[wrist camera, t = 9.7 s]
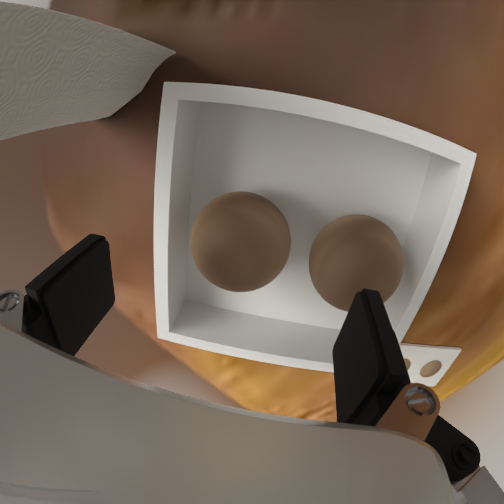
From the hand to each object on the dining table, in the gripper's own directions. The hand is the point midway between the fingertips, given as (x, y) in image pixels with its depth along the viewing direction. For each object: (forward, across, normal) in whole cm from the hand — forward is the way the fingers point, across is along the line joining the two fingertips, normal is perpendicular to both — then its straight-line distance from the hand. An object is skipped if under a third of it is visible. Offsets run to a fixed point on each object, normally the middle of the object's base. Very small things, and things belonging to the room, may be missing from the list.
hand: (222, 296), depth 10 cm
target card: (+8, -16, +10) cm, 20 cm away
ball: (+5, -6, 0) cm, 8 cm away
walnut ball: (+5, 0, 0) cm, 5 cm away
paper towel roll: (+8, +10, -8) cm, 15 cm away
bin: (+8, -3, 0) cm, 8 cm away
